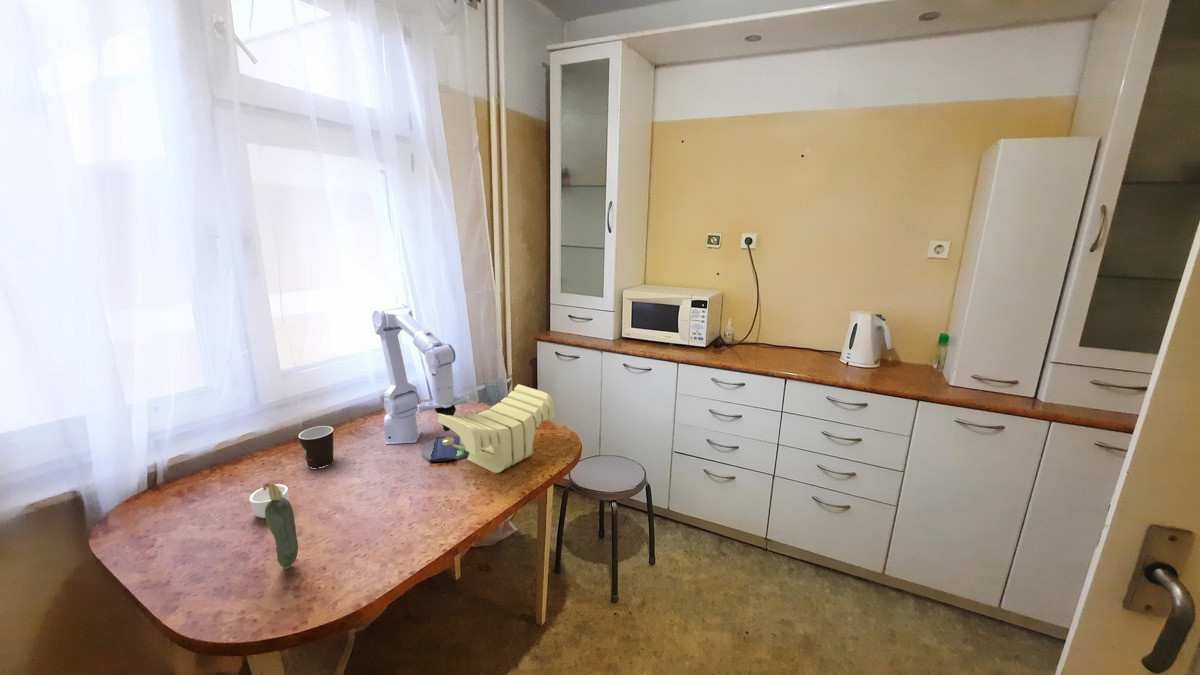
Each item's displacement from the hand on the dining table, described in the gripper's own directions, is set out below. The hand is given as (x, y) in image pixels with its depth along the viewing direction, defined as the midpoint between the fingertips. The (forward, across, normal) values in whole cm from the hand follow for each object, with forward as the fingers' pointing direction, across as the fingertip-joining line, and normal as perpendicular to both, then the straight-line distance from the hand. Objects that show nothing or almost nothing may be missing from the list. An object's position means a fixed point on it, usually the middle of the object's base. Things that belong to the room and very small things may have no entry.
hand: (446, 429), depth 135 cm
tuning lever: (+8, +3, +4) cm, 9 cm away
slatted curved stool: (+10, +14, -8) cm, 19 cm away
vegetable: (+10, -39, -29) cm, 49 cm away
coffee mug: (+10, -32, +18) cm, 39 cm away
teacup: (+10, -44, -3) cm, 45 cm away
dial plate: (+10, +2, +6) cm, 12 cm away
